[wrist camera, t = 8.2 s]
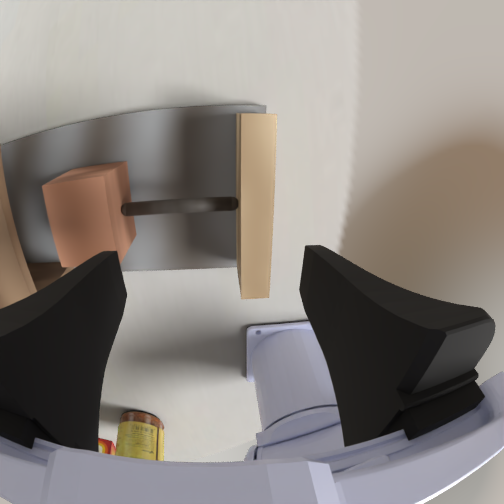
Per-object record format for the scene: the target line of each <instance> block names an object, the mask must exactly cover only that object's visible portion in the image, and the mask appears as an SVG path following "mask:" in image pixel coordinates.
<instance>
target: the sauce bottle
mask: <svg viewBox="0 0 504 504" xmlns="http://www.w3.org/2000/svg"><path fill="white" fill-rule="evenodd" d="M163 429H164V426H163V423H162V422H161V421H160V420H159V419H158V418H157V417H155V416H153V415H150V414H148V413H144V412H137V411H132V412H126V413H124V414H123V415H122V417H121V420H120V424H119V426H118V435H117V443H116V453H115V455H116V456H122V457H129V458H137V459H146V460H157V461H164V431H163Z"/></svg>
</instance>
